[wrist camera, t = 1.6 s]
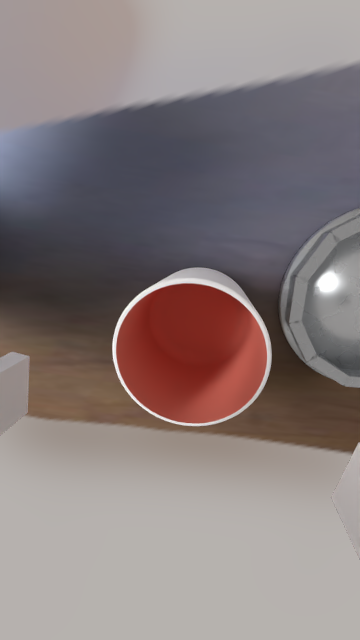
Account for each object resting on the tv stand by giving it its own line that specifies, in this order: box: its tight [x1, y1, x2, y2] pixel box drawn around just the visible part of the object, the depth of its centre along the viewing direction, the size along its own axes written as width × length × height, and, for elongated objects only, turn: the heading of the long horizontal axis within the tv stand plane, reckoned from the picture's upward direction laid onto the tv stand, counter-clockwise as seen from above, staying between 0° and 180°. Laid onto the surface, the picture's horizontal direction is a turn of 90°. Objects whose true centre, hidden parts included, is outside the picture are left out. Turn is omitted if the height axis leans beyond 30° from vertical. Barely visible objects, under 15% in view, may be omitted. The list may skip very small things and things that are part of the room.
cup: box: [112, 267, 272, 426], centre depth 20 cm, size 10×10×10 cm
